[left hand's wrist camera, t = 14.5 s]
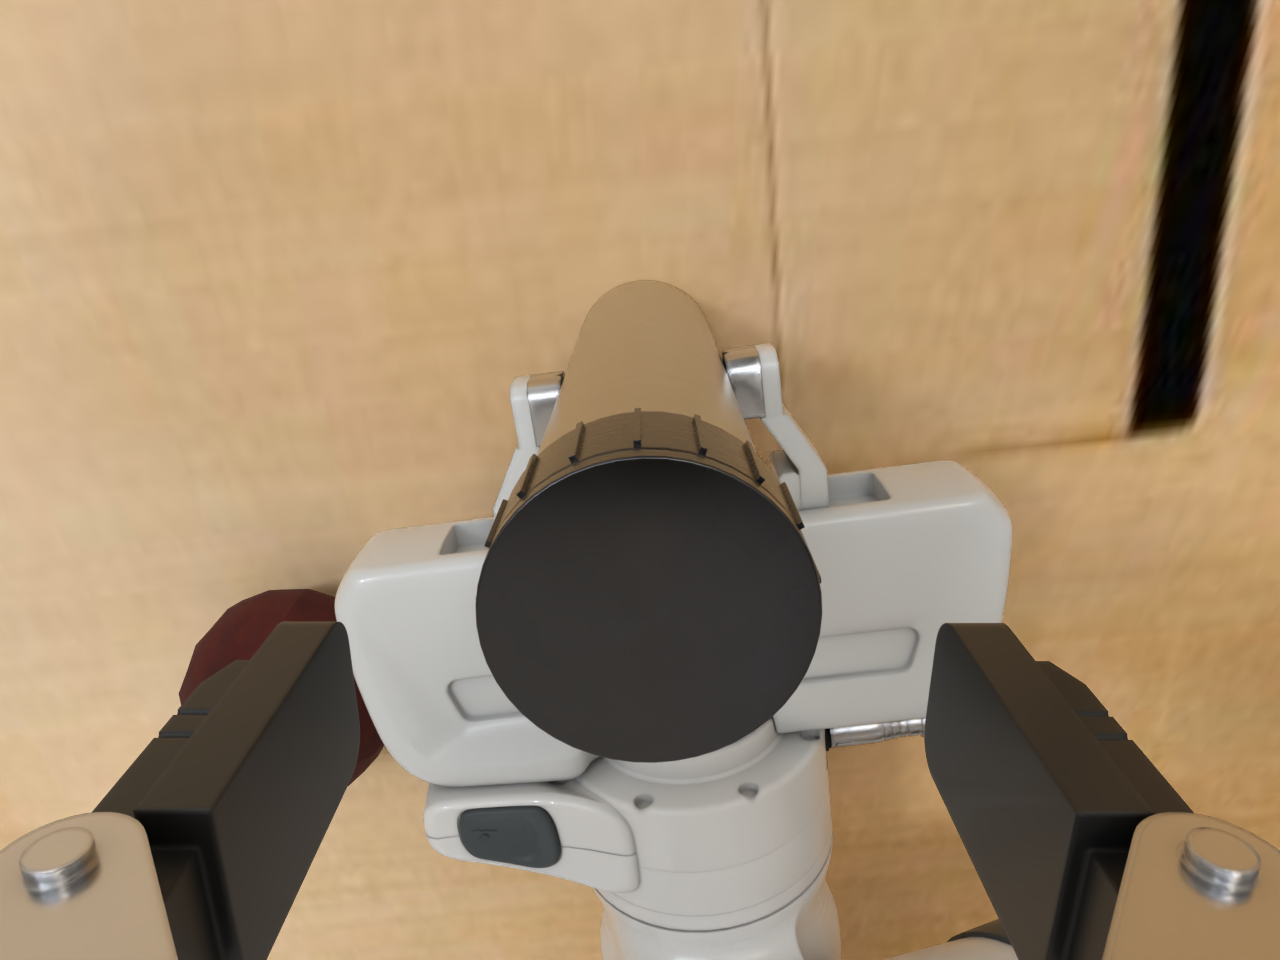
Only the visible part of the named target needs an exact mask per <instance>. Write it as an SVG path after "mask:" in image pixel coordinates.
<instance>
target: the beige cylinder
mask: <svg viewBox="0 0 1280 960" xmlns="http://www.w3.org/2000/svg"><path fill="white" fill-rule="evenodd" d="M634 408H641V411H655V412H668V413H675V414H681V415H686V416H689V417H694V414H696V415H699V416H701V420H703V421H705V422H708V423H710V424H712V425H715V426H717V427H719V428H722V429H723V430H725V431H727V432H728V433H730V434H732V435H733V436H735V437H737V438H738V439H740V440H741V441H742V442H744V443H745V442H746V441H747V440H748V441H749V442H750V443H752V445H753V448H754V451H755V452H756V450H755V447H754V444H753V442H752V439H751V436H750V434H749V431H748V428H747V426H746V423H745V421H744V418H743V415H742V413H741V410H740V407H739V405H738V402H737V399H736V397H735V394H734V391H733V389H732V386H731V383H730V381H729V378H728V376H727V373H726V370H725V368H724V365H723V362H722V360H721V357H720V354H719V352H718V349H717V346H716V344H715V341H714V339H713V336H712V333H711V331H710V328H709V325H708V323H707V320H706V318H705V316H704V314H703V312H702V311H701V309H700V308H699V306H698V305H697V304H696V303H695V302H694V301H693V300H692V299H691V298H690V297H689V296H688V295H687V294H685V293H684V292H683V291H681V290H679V289H678V288H676V287H673V286H671V285H669V284H666V283H662V282H658V281H649V280H642V281H633V282H629V283H625V284H623V285H620V286H618V287H616V288H614V289H612V290H610V291H609V292H607V293H606V294H605V295H603V296H602V297H601V298H600V299H599V300H598V301H597V302H596V303H595V305H594V306H593V307H592V308H591V310H590V311H589V313H588V315H587V317H586V319H585V321H584V324H583V326H582V329H581V332H580V335H579V338H578V340H577V343H576V346H575V349H574V352H573V355H572V358H571V360H570V363H569V366H568V369H567V372H566V375H565V377H564V380H563V383H562V386H561V389H560V392H559V394H558V397H557V400H556V403H555V406H554V409H553V412H552V414H551V417H550V420H549V423H548V426H547V429H546V431H545V434H544V437H543V440H542V443H541V446H540V448H539V451H538V454H537V456H538V455H539V454H540V453H541V452H542V451H543V450H544V449H545V448H547V447H548V446H549V445H550V444H552V443H553V442H554V441H556V440H557V439H559V438H560V437H561V436H563V435H564V434H566V433H568V432H570V431H572V430H574V429H575V428H576V424H577V423H579V422H581V421H582V422H583V423H584V424H586V423H589V422H592V421H594V420H597V419H600V418H603V417H608V416H612V415H616V414H620V413H629V412H634ZM756 453H757V452H756Z"/></svg>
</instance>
